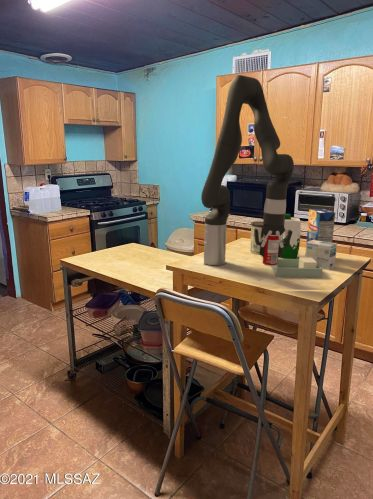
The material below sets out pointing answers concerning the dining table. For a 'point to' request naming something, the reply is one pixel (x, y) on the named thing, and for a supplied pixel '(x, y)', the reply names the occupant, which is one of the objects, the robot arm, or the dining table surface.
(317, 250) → the light bulb box
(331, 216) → the beverage box
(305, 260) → the cream white block
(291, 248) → the milk carton
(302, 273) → the tote
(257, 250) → the coffee can
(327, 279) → the dining table surface
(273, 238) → the soda can
